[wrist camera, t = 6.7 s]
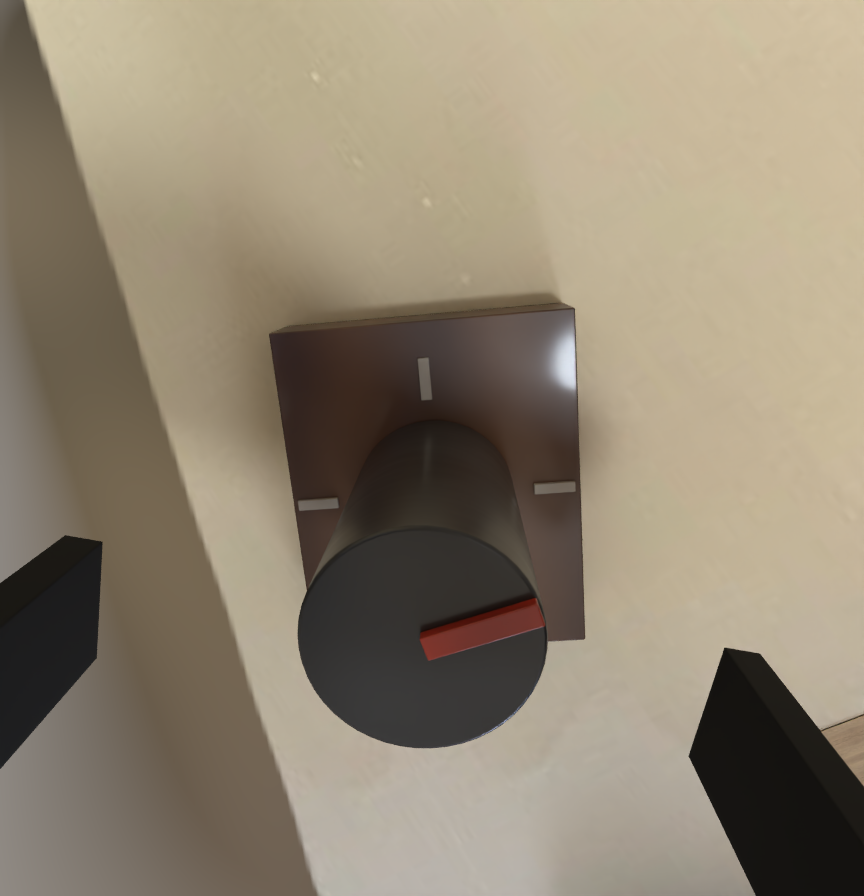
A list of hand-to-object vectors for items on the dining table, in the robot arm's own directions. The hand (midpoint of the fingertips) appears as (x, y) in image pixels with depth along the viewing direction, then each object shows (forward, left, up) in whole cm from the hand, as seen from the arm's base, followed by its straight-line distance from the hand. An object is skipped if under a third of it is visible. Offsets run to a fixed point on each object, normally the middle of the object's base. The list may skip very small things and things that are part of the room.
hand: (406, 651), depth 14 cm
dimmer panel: (0, 0, -12) cm, 12 cm away
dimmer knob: (0, 0, -10) cm, 10 cm away
